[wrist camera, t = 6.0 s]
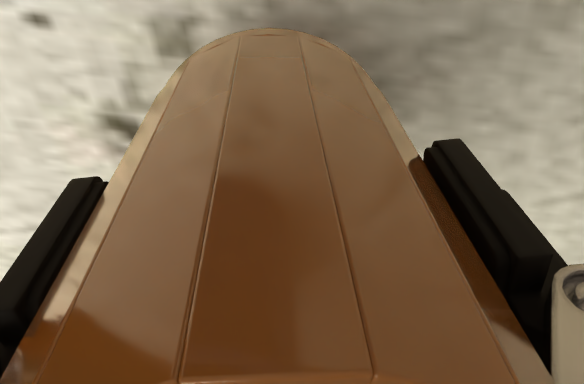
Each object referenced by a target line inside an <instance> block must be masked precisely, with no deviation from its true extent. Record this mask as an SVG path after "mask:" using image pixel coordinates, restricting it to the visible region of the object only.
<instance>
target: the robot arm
mask: <svg viewBox="0 0 584 384" xmlns="http://www.w3.org/2000/svg"><path fill="white" fill-rule="evenodd" d="M423 162H424V164H425V166H426V167H427V169H428V171H429V172H430V174H431V176H432V177H433V179H434V181H435V182H436V184H437V186H438V187H439V189H440V191H441V192H442V194H443V196H444V198H445V199H446V201H447V203H448V204H449V206H450V208H451V209H452V211H453V213H454V214H455V216H456V218H457V219H458V221H459V223H460V224H461V226H462V228H463V229H464V231H465V233H466V235H467V236H468V238H469V240H470V241H471V243H472V245H473V246H474V248H475V250H476V251H477V253H478V255H479V256H480V258H481V260H482V261H483V263H484V265H485V266H486V268H487V270H488V272H489V273H490V275H491V277H492V278H493V280H494V282H495V283H496V285H497V287H498V288H499V290H500V292H501V293H502V295H503V297H504V298H505V300H506V302H507V304H508V305H509V307H510V309H511V310H512V312H513V314H514V315H515V317H516V319H517V320H518V322H519V324H520V325H521V327H522V329H523V330H524V332H525V334H526V335H527V337H528V339H529V341H530V342H531V344H532V346H533V347H534V349H535V351H536V352H537V354H538V356H539V357H540V359H541V361H542V362H543V364H544V366H545V367H546V369H547V371H548V372H549V374H550V376H551V378H552V379H553V381H554V383H555V384H584V264H575V265H569V266H568V265H567V264H566V263H565V261H564V260H563V259H562V258H561V256H560V255H559V254H558V253H557V252H556V250H555V249H554V248H553V247H552V245H551V244H550V243H549V242H548V241H547V239H546V238H545V237H544V236H543V234H542V233H541V232H540V231H539V230H538V228H537V227H536V226H535V225H534V224H533V222H532V221H531V220H530V219H529V217H528V216H527V215H526V214H525V213H524V211H523V210H522V209H521V208H520V206H519V205H518V204H517V203H516V202H515V200H514V199H513V198H512V197H511V195H510V194H509V193H508V192H506V191H505V190H502V189H501V188H500V187H499V186H498V185H497V183H496V182H495V181H494V180H493V178H492V177H491V176H490V175H489V173H488V172H487V171H486V170H485V168H484V167H483V166H482V165H481V163H480V162H479V161H478V160H477V158H476V157H475V156H474V155H473V154H472V152H471V151H470V150H469V149H468V147H467V146H466V145H465V144H464V142H463V141H462V140H461V139H449V140H439V141H434V142H433V144H432V147H431V148H426V149H425V151H424V158H423ZM108 183H109V182H103V180H102V179H101V178H100V177H98V176H96V177H87V178H77V179H72V180H71V181H70V182H69V184H68V185H67V187H66V188H65V189H64V191H63V192H62V194H61V195H60V197H59V198H58V200H57V201H56V202H55V204H54V205H53V207H52V208H51V210H50V211H49V213H48V214H47V215H46V217H45V218H44V220H43V221H42V223H41V224H40V226H39V227H38V228H37V230H36V231H35V233H34V234H33V236H32V237H31V239H30V240H29V242H28V243H27V244H26V246H25V247H24V249H23V250H22V252H21V253H20V255H19V256H18V257H17V259H16V260H15V262H14V263H13V265H12V266H11V268H10V269H9V270H8V272H7V273H6V275H5V276H4V278H3V279H2V281H1V282H0V378H1V377H2V375H3V373H4V371H5V369H6V368H7V366H8V364H9V362H10V360H11V359H12V357H13V355H14V353H15V351H16V349H17V348H18V346H19V344H20V342H21V340H22V339H23V337H24V335H25V333H26V331H27V330H28V328H29V326H30V324H31V322H32V321H33V319H34V317H35V315H36V313H37V312H38V310H39V308H40V306H41V304H42V302H43V301H44V299H45V297H46V295H47V293H48V292H49V290H50V288H51V286H52V284H53V283H54V281H55V279H56V277H57V275H58V274H59V272H60V270H61V268H62V266H63V265H64V263H65V261H66V259H67V257H68V255H69V254H70V252H71V250H72V248H73V246H74V245H75V243H76V241H77V239H78V237H79V236H80V234H81V232H82V230H83V228H84V227H85V225H86V223H87V221H88V219H89V218H90V216H91V214H92V212H93V210H94V208H95V207H96V205H97V203H98V201H99V199H100V198H101V196H102V194H103V192H104V190H105V189H106V187H107V185H108Z"/></svg>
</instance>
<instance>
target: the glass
mask: <svg viewBox="0 0 584 384" xmlns="http://www.w3.org/2000/svg"><path fill="white" fill-rule="evenodd" d="M0 384H555V383H554V381H553V379H552V378H551V376H550V374H549V372H548V371H547V369H546V367H545V366H544V364H543V362H542V361H541V359H540V357H539V356H538V354H537V352H536V351H535V349H534V347H533V346H532V344H531V342H530V341H529V339H528V337H527V335H526V334H525V332H524V330H523V329H522V327H521V325H520V324H519V322H518V320H517V319H516V317H515V315H514V314H513V312H512V310H511V309H510V307H509V305H508V304H507V302H506V300H505V298H504V297H503V295H502V293H501V292H500V290H499V288H498V287H497V285H496V283H495V282H494V280H493V278H492V277H491V275H490V273H489V272H488V270H487V268H486V266H485V265H484V263H483V261H482V260H481V258H480V256H479V255H478V253H477V251H476V250H475V248H474V246H473V245H472V243H471V241H470V240H469V238H468V236H467V235H466V233H465V231H464V229H463V228H462V226H461V224H460V223H459V221H458V219H457V218H456V216H455V214H454V213H453V211H452V209H451V208H450V206H449V204H448V203H447V201H446V199H445V198H444V196H443V194H442V192H441V191H440V189H439V187H438V186H437V184H436V182H435V181H434V179H433V177H432V176H431V174H430V172H429V171H428V169H427V167H426V166H425V164H424V162H423V161H422V159H421V157H420V155H419V154H418V152H417V150H416V149H415V147H414V145H413V144H412V142H411V140H410V139H409V137H408V135H407V134H406V132H405V130H404V129H403V127H402V125H401V124H400V122H399V120H398V118H397V117H396V115H395V113H394V112H393V110H392V108H391V107H390V105H389V103H388V102H387V100H386V98H385V97H384V95H383V93H382V92H381V91H380V90H379V89H378V88H377V87H376V85H375V84H374V83H373V81H372V80H371V78H370V77H369V75H368V74H367V73H366V72H365V70H364V69H363V68H362V67H361V66H360V65H359V64H358V63H357V62H356V61H355V60H354V59H353V58H352V57H351V56H350V55H348V54H347V53H345V52H344V51H343V50H341V49H340V48H338V47H337V46H335V45H333V44H331V43H329V42H327V41H325V40H323V39H322V38H319V37H316V36H313V35H310V34H307V33H305V32H300V31H295V30H290V29H279V28H261V29H250V30H246V31H241V32H236V33H233V34H230V35H227V36H224V37H222V38H219V39H217V40H215V41H213V42H211V43H209V44H207V45H205V46H204V47H202V48H200V49H199V50H198V51H196V52H195V53H194V54H192V55H191V56H190V57H188V58H187V59H186V60H185V61H184V62H183V63H182V64H181V65H180V66H179V67H178V68H177V70H176V71H175V72H174V74H173V75H172V76H171V78H170V79H169V80H168V82H167V84H166V85H165V87H164V88H163V89H162V90H161V92H160V93H159V94H158V95H157V96H156V98H155V100H154V102H153V104H152V105H151V107H150V109H149V111H148V113H147V114H146V116H145V118H144V120H143V122H142V124H141V125H140V127H139V129H138V131H137V133H136V134H135V136H134V138H133V140H132V142H131V143H130V145H129V147H128V149H127V151H126V152H125V154H124V156H123V158H122V160H121V161H120V163H119V165H118V167H117V169H116V171H115V172H114V174H113V176H112V178H111V180H110V181H109V183H108V185H107V187H106V189H105V190H104V192H103V194H102V196H101V198H100V199H99V201H98V203H97V205H96V207H95V208H94V210H93V212H92V214H91V216H90V218H89V219H88V221H87V223H86V225H85V227H84V228H83V230H82V232H81V234H80V236H79V237H78V239H77V241H76V243H75V245H74V246H73V248H72V250H71V252H70V254H69V255H68V257H67V259H66V261H65V263H64V265H63V266H62V268H61V270H60V272H59V274H58V275H57V277H56V279H55V281H54V283H53V284H52V286H51V288H50V290H49V292H48V293H47V295H46V297H45V299H44V301H43V302H42V304H41V306H40V308H39V310H38V312H37V313H36V315H35V317H34V319H33V321H32V322H31V324H30V326H29V328H28V330H27V331H26V333H25V335H24V337H23V339H22V340H21V342H20V344H19V346H18V348H17V349H16V351H15V353H14V355H13V357H12V359H11V360H10V362H9V364H8V366H7V368H6V369H5V371H4V373H3V375H2V377H1V378H0Z"/></svg>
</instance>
